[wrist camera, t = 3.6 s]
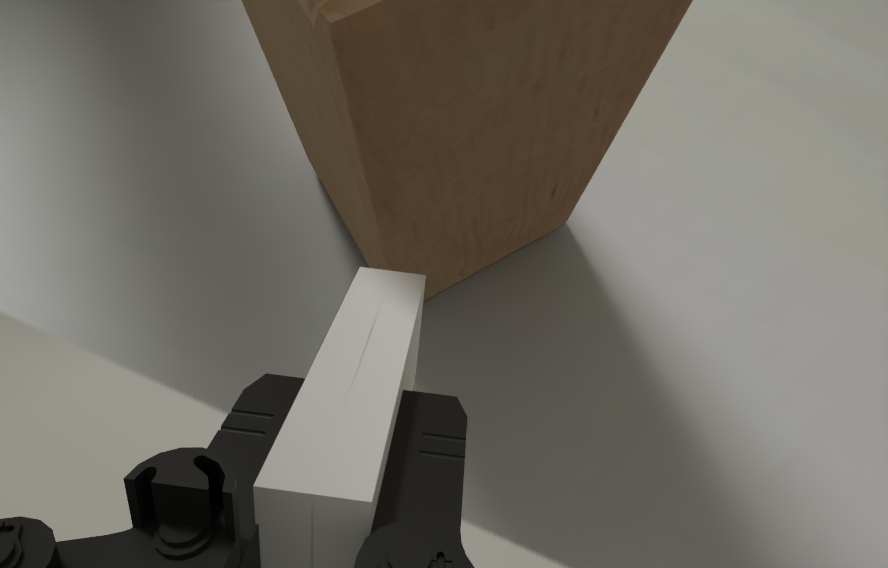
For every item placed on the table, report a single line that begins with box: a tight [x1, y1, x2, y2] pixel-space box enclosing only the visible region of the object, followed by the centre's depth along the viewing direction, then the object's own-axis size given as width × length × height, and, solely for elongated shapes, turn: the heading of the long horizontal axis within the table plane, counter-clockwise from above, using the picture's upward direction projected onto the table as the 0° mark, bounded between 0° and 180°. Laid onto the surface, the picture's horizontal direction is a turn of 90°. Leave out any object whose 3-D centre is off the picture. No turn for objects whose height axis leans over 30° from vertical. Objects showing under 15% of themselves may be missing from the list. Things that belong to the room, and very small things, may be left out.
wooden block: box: [242, 0, 693, 301], centre depth 21 cm, size 10×10×20 cm
